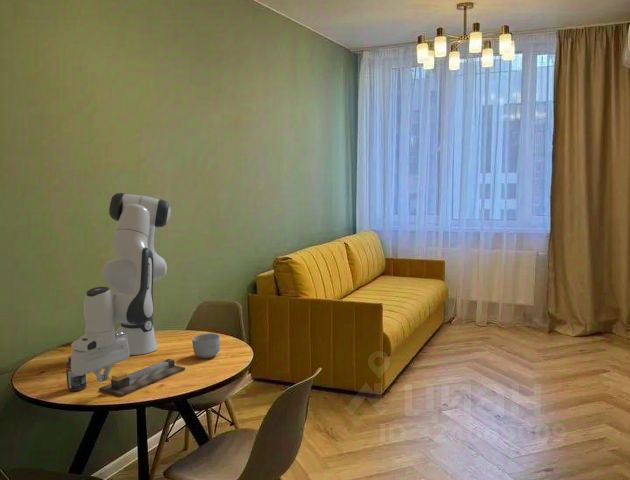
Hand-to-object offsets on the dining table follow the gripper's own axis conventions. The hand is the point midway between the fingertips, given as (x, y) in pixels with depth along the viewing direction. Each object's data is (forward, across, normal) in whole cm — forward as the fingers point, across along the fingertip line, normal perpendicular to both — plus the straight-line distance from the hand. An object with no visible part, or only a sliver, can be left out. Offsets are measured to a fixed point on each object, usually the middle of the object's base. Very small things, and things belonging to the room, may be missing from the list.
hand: (103, 380), depth 177 cm
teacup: (+6, -50, +1) cm, 50 cm away
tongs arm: (+3, -20, 0) cm, 21 cm away
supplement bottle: (+6, -1, -15) cm, 16 cm away
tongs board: (+5, -18, 0) cm, 18 cm away
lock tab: (+2, -7, 0) cm, 7 cm away
